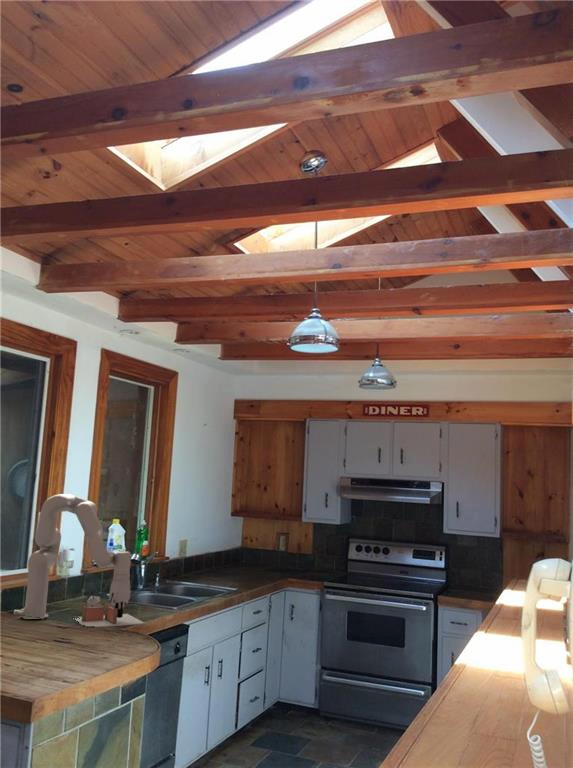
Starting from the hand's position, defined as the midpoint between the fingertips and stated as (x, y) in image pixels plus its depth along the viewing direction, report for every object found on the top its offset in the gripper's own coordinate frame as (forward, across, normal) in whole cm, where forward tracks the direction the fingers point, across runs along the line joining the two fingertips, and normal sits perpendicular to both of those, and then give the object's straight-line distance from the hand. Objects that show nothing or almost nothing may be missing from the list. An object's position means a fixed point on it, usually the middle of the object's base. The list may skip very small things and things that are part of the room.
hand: (118, 617), depth 318 cm
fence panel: (+2, +3, -1) cm, 4 cm away
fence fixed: (+2, +5, -10) cm, 12 cm away
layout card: (+2, +1, -6) cm, 6 cm away
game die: (+2, -11, -29) cm, 31 cm away
